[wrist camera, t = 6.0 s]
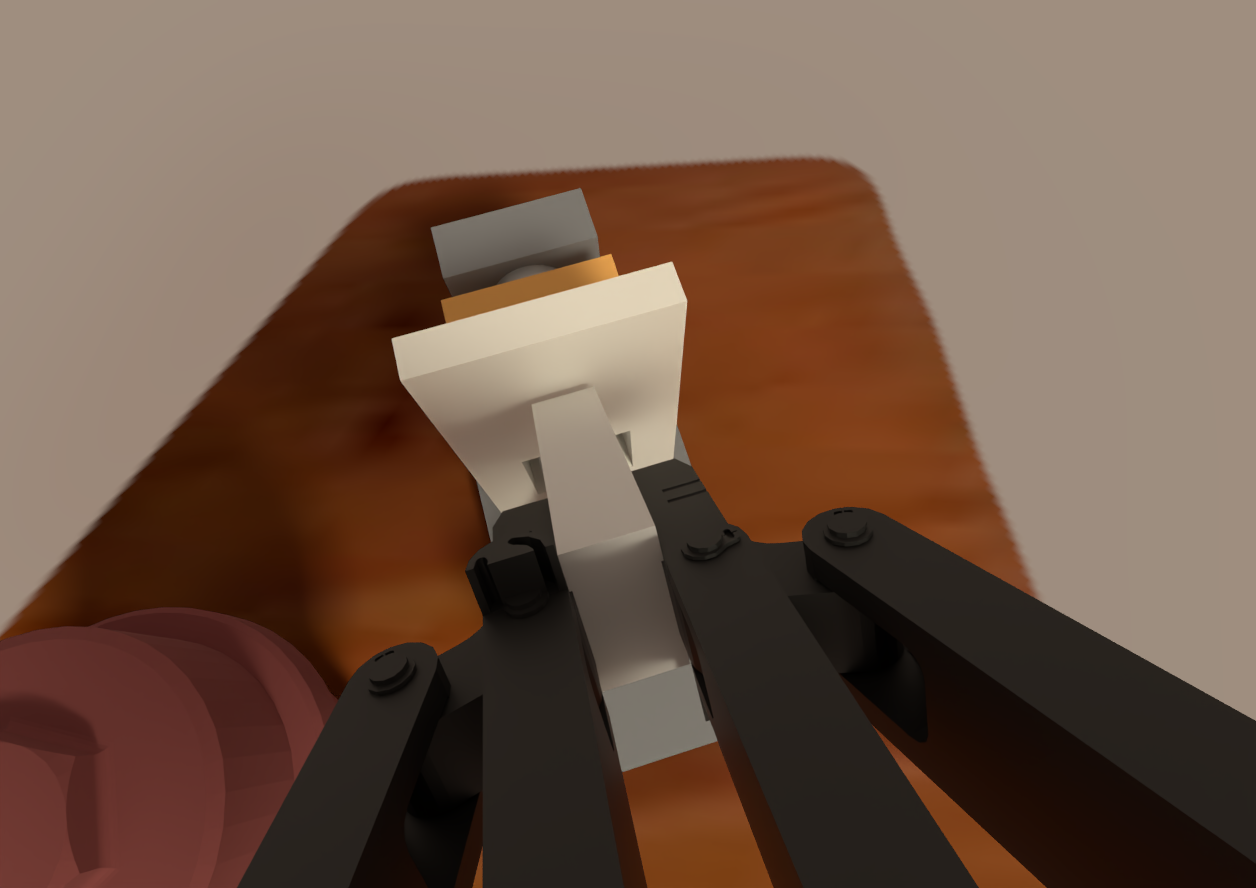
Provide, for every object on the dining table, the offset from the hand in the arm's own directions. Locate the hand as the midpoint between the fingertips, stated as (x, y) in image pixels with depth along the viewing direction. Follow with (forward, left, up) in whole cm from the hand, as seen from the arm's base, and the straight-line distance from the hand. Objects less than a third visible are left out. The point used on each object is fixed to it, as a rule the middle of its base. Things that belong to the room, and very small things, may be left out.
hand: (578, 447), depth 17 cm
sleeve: (0, +3, -9) cm, 10 cm away
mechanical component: (-13, -5, -12) cm, 18 cm away
